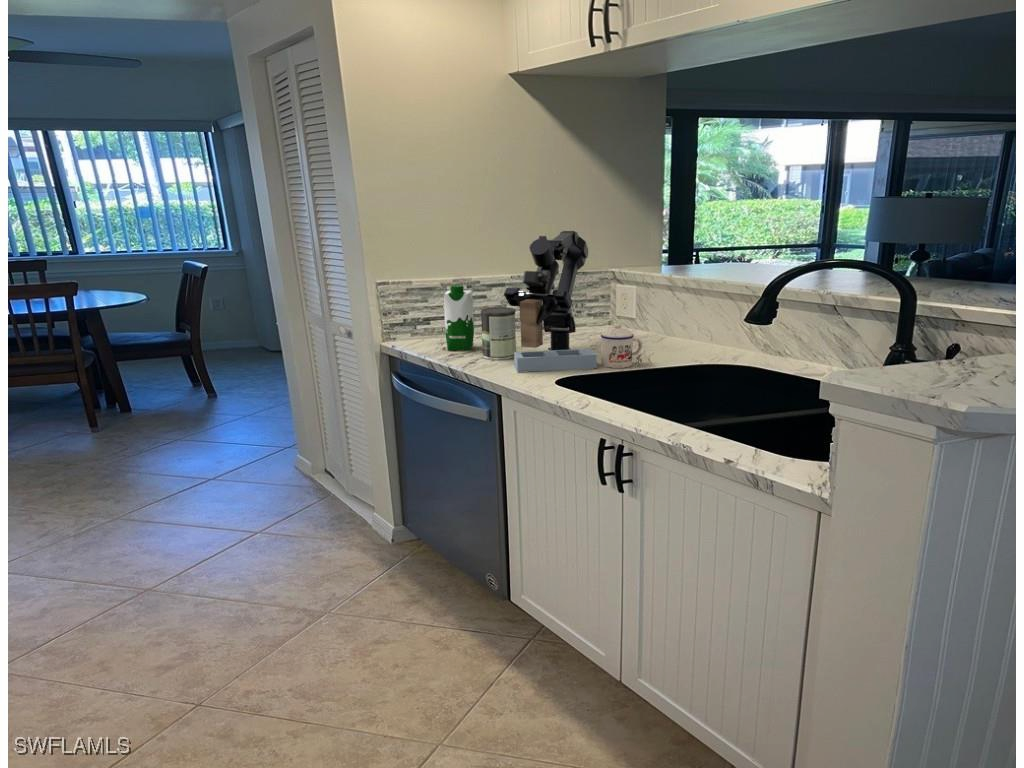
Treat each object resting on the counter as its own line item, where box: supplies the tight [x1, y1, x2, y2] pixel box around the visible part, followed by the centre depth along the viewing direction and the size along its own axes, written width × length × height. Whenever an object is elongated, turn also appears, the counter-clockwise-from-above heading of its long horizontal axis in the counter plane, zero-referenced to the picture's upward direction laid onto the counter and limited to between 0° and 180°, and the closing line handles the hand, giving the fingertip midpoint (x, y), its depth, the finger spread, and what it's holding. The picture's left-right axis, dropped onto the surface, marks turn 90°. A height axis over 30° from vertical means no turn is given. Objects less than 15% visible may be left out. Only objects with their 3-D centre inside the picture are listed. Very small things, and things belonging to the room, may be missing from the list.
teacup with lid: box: [600, 323, 643, 369], centre depth 215 cm, size 12×9×12 cm
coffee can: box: [480, 306, 517, 361], centre depth 228 cm, size 10×10×14 cm
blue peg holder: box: [513, 348, 598, 373], centre depth 214 cm, size 22×8×4 cm, turn 96°
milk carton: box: [443, 284, 475, 352], centre depth 240 cm, size 9×9×20 cm
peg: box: [519, 299, 544, 349], centre depth 211 cm, size 4×4×12 cm
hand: (529, 323), depth 209 cm, fingers closed on peg, 4 cm apart
